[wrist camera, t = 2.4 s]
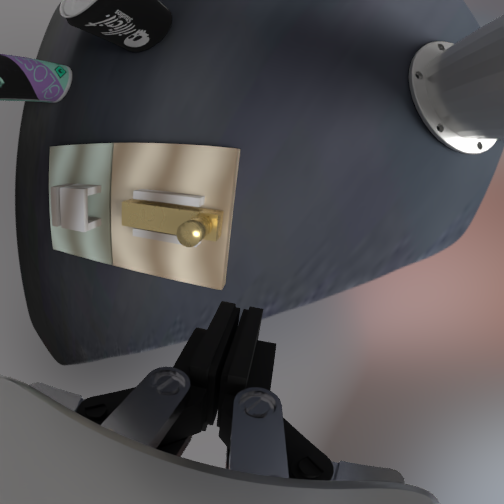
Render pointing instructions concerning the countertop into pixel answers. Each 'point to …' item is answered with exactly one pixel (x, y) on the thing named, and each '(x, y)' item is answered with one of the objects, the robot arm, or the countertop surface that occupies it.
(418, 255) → the countertop surface
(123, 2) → the beverage can
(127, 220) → the bolt
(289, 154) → the countertop surface
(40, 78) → the spray can
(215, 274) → the latch board
